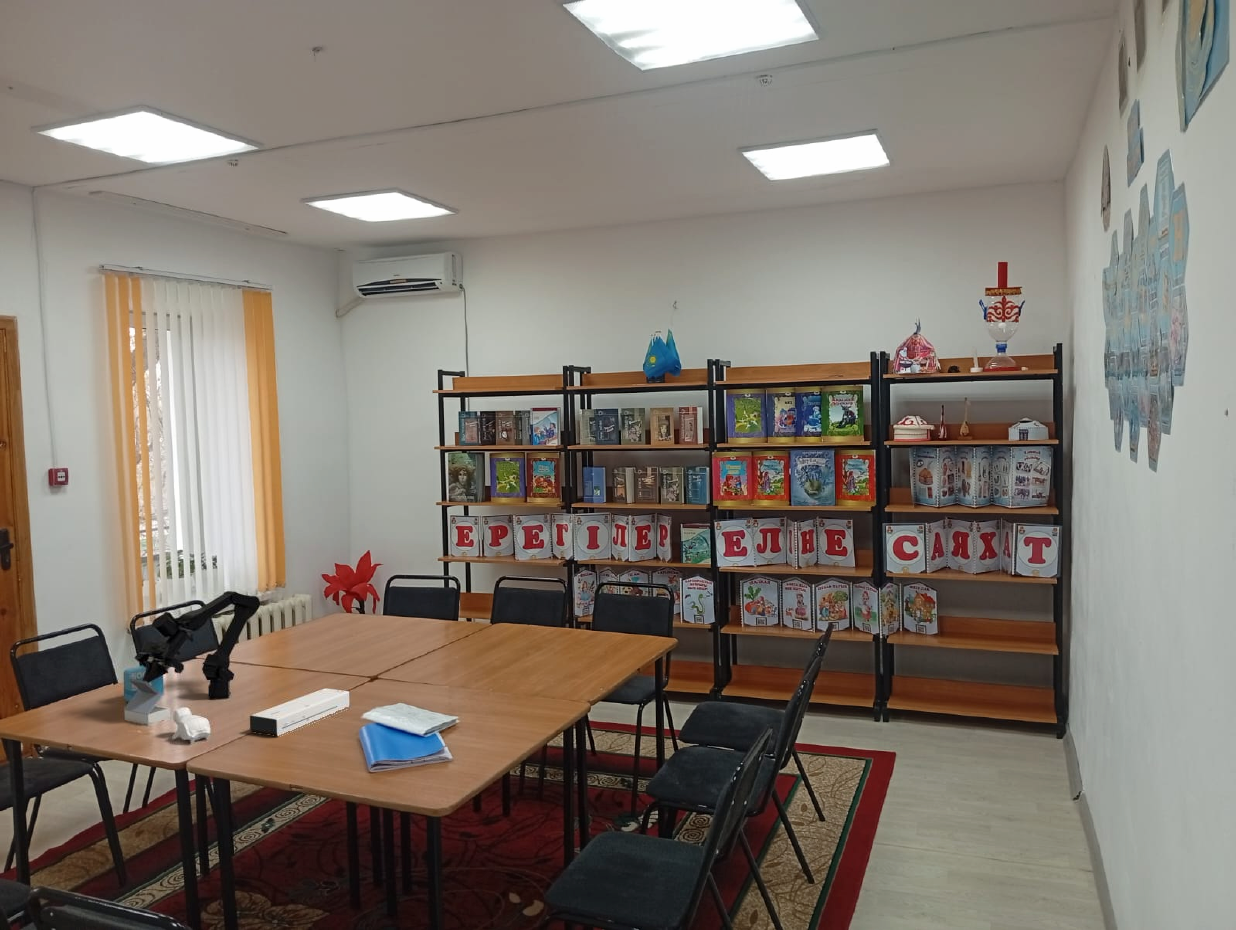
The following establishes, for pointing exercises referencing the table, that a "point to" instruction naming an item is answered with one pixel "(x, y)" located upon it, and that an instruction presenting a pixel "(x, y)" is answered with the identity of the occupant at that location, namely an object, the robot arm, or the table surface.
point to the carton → (153, 717)
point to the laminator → (299, 711)
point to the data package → (138, 675)
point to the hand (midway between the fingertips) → (143, 684)
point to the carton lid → (143, 698)
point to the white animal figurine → (190, 725)
